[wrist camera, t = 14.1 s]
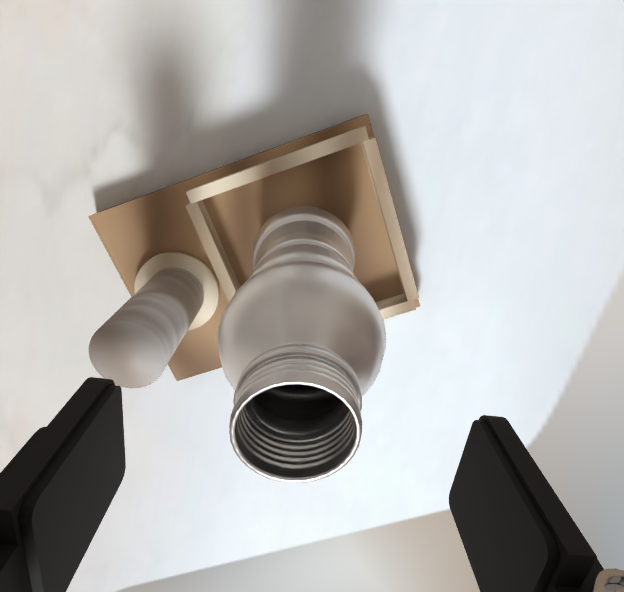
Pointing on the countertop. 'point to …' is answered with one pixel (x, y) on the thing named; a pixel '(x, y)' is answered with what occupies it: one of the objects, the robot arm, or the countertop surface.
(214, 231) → the board
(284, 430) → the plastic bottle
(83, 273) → the countertop surface
